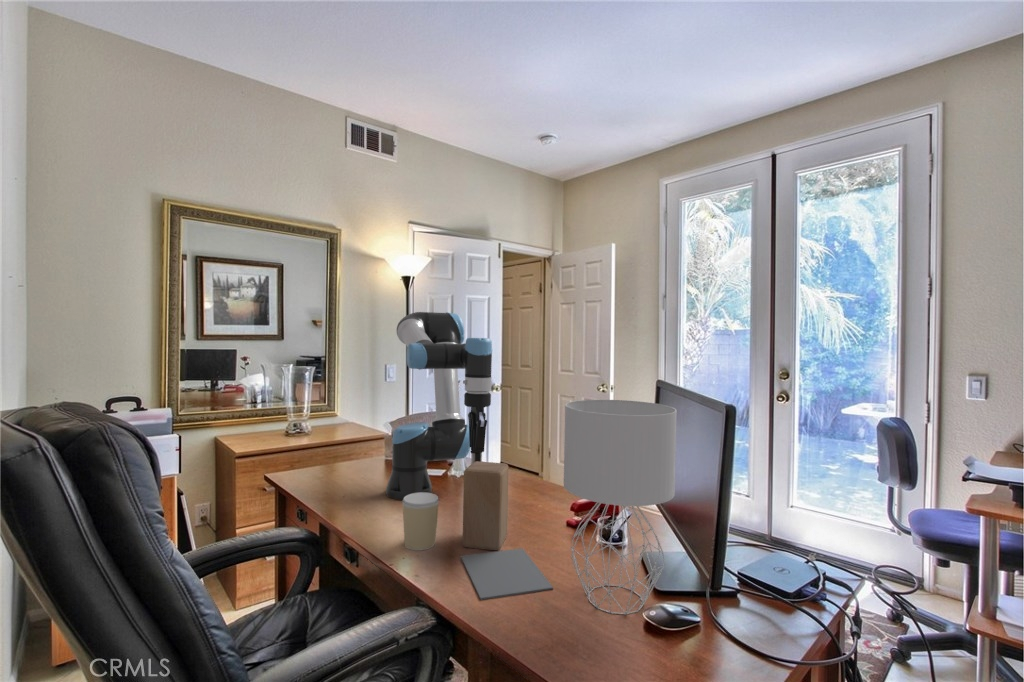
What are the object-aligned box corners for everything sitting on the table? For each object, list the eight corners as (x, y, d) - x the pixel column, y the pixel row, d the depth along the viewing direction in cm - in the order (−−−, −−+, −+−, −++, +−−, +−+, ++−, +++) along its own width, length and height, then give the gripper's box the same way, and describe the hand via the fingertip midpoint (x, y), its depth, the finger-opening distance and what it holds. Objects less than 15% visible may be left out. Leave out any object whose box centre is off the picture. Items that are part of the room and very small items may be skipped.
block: (499, 552, 122) (501, 472, 122) (461, 548, 124) (462, 469, 124) (507, 536, 132) (509, 462, 132) (472, 532, 134) (473, 460, 134)
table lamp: (561, 569, 114) (565, 398, 114) (659, 576, 112) (664, 401, 111) (560, 626, 92) (565, 412, 91) (684, 636, 89) (689, 417, 89)
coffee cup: (444, 539, 129) (445, 494, 129) (427, 554, 120) (428, 505, 120) (413, 534, 132) (414, 490, 132) (394, 548, 123) (395, 500, 123)
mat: (460, 557, 119) (460, 555, 119) (522, 549, 124) (522, 548, 124) (480, 600, 100) (480, 598, 100) (553, 589, 105) (553, 587, 105)
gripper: (460, 389, 144) (458, 469, 144) (469, 394, 132) (468, 482, 132) (484, 389, 146) (483, 468, 146) (496, 394, 134) (495, 480, 134)
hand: (476, 474), depth 139 cm, fingers closed
